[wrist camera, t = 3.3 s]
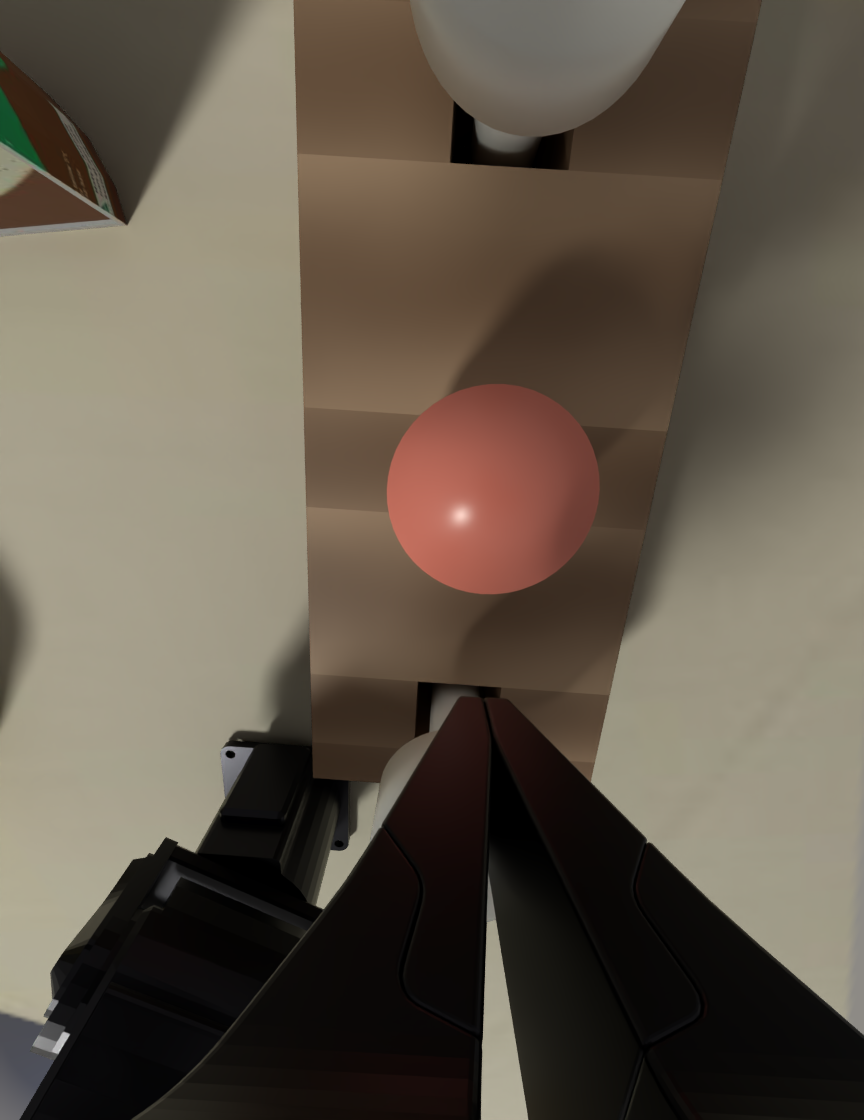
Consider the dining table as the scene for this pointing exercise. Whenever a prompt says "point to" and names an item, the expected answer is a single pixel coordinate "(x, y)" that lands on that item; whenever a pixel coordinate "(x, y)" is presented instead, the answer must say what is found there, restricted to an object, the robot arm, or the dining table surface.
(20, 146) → the food container
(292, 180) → the dining table surface
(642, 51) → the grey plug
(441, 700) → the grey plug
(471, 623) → the walnut plug block
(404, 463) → the salmon round-head knob
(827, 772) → the dining table surface
